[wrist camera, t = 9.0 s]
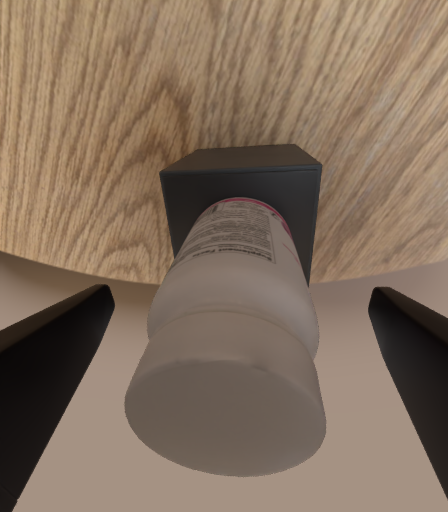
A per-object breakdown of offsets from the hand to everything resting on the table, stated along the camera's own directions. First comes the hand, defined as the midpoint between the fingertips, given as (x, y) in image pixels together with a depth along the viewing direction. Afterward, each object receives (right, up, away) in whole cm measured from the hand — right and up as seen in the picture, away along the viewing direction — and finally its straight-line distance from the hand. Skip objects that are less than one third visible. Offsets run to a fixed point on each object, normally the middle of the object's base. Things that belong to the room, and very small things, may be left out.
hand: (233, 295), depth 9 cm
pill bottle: (0, +2, +4) cm, 4 cm away
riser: (+1, +6, +11) cm, 13 cm away
